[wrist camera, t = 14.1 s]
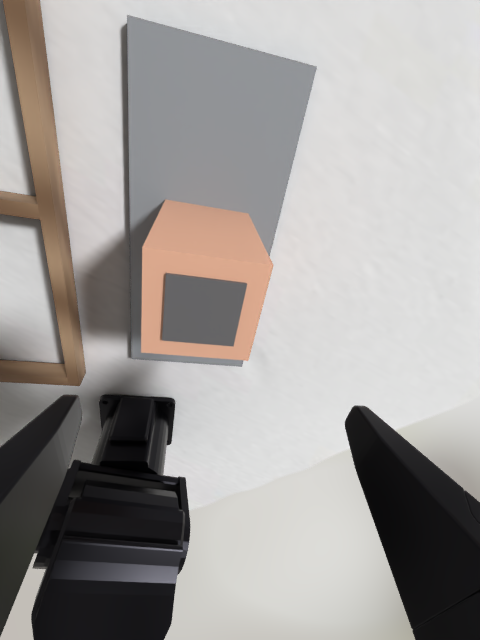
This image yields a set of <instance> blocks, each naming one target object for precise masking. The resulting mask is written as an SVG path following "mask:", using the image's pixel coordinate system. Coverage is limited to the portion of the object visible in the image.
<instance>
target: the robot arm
mask: <svg viewBox="0 0 480 640" xmlns="http://www.w3.org/2000/svg"><path fill="white" fill-rule="evenodd" d="M169 403H170V404H169ZM99 405H100V415H101V426H102V433H101V436H100V439H99V442H98V445H97V448H96V451H95V454H94V457H93V461H92V464H89V463H83V462H81V461H79V460H73V463H72V466H71V468H70V469H68V466H69V463H70V459H71V456H72V452H73V449H74V445H75V441H76V438H77V434H78V431H79V427H80V424H81V420H82V410H81V404H80V398H79V396H78V395H63V396H61V397H60V398H59V399H57V400H56V401H55V402H54V403H53V404H51V405H50V406H49V407H48V408H47V409H45V410H44V411H43V412H42V413H41V414H39V415H38V416H37V417H36V418H35V419H33V420H32V421H31V422H30V423H29V424H27V425H26V426H25V427H24V428H23V429H21V430H20V431H19V432H18V433H17V434H16V435H14V436H13V437H12V438H11V439H10V440H8V441H7V442H6V443H5V444H4V445H2V446H1V447H0V636H1V634H2V631H3V629H4V626H5V624H6V621H7V619H8V616H9V614H10V611H11V609H12V606H13V604H14V601H15V599H16V596H17V594H18V592H19V589H20V586H21V584H22V582H23V579H24V577H25V574H26V572H27V569H28V567H29V564H30V562H31V559H32V557H33V554H34V553H38V554H37V557H36V559H35V562H34V565H33V568H35V569H46V570H45V573H44V576H43V579H42V582H41V585H40V587H39V590H38V593H37V596H36V599H35V603H34V607H33V611H32V619H31V620H32V628H33V637H34V640H164V638H165V636H166V634H167V632H168V630H169V627H170V625H171V621H172V612H173V603H174V594H175V586H176V579H177V575H178V574H179V573H180V571H181V570H182V567H183V565H184V562H185V559H186V555H187V551H188V545H189V537H190V518H189V508H188V498H187V489H186V479H185V477H178V478H177V477H171V476H165V475H163V472H164V463H165V454H166V445H170V444H171V441H172V431H173V421H174V411H175V400H174V399H172V398H157V397H136V396H116V395H103V396H102V397H101V398H100V401H99ZM345 429H346V433H347V437H348V441H349V445H350V449H351V453H352V457H353V461H354V465H355V468H356V472H357V475H358V478H359V480H360V483H361V486H362V489H363V492H364V495H365V498H366V500H367V503H368V506H369V509H370V511H371V514H372V517H373V520H374V523H375V526H376V529H377V531H378V534H379V537H380V540H381V542H382V546H383V548H384V551H385V554H386V557H387V560H388V563H389V565H390V568H391V571H392V574H393V577H394V579H395V582H396V585H397V588H398V591H399V594H400V597H401V599H402V602H403V605H404V608H405V611H406V614H407V616H408V619H409V622H410V625H411V628H412V629H413V634H414V637H415V640H480V502H478V501H477V500H476V499H475V498H474V497H473V496H471V495H470V494H469V493H468V492H467V491H464V489H463V488H462V487H461V486H460V485H458V484H457V483H456V482H455V481H454V480H453V479H451V478H450V477H449V476H448V475H447V474H445V473H444V472H443V471H442V470H441V469H440V468H438V467H437V466H436V465H435V464H434V463H433V462H431V461H430V460H429V459H428V458H427V457H425V456H424V455H423V454H422V453H421V452H420V451H418V450H417V449H416V448H415V447H414V446H412V445H411V444H410V443H409V442H408V441H407V440H405V439H404V438H403V437H402V436H401V435H399V434H398V433H397V432H396V431H395V430H394V429H392V428H391V427H390V426H389V425H388V424H386V423H385V422H384V421H383V420H382V419H381V418H379V417H378V416H377V415H376V414H375V413H373V412H372V411H371V410H370V409H369V408H367V407H366V406H354V407H352V409H351V411H350V413H349V415H348V416H347V418H346V420H345Z"/></svg>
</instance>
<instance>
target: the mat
mask: <svg viewBox="0 0 480 640" xmlns="http://www.w3.org/2000/svg"><path fill="white" fill-rule="evenodd" d="M127 43H128V121H129V199H130V277H131V355H132V359H141V360H155V361H169V362H183V363H198V364H212V365H226V366H240V367H242V364H243V360H233V359H220V358H206V357H193V356H180V355H167V354H154V353H141V319H142V247H143V245H144V243H145V240H146V238H147V236H148V234H149V232H150V230H151V228H152V226H153V224H154V222H155V220H156V218H157V216H158V214H159V212H160V210H161V208H162V206H163V203H164V201H165V199H166V200H172V201H178V202H184V203H189V204H195V205H201V206H207V207H213V208H219V209H225V210H231V211H237V212H243V213H248V214H249V216H250V218H251V220H252V222H253V224H254V226H255V228H256V230H257V232H258V235H259V237H260V239H261V241H262V243H263V245H264V247H265V249H266V251H267V253H268V255H269V256H270V252H271V248H272V244H273V240H274V236H275V232H276V228H277V224H278V220H279V216H280V212H281V208H282V204H283V200H284V196H285V192H286V188H287V184H288V180H289V176H290V172H291V168H292V164H293V160H294V156H295V152H296V148H297V144H298V140H299V136H300V132H301V128H302V124H303V120H304V116H305V112H306V108H307V104H308V100H309V96H310V92H311V88H312V84H313V80H314V76H315V72H316V68H317V67H316V66H312V65H308V64H305V63H301V62H297V61H294V60H290V59H286V58H283V57H279V56H276V55H272V54H268V53H265V52H261V51H257V50H254V49H250V48H246V47H243V46H239V45H235V44H232V43H228V42H224V41H221V40H217V39H213V38H210V37H206V36H202V35H199V34H195V33H191V32H188V31H184V30H180V29H177V28H173V27H169V26H166V25H162V24H158V23H155V22H151V21H147V20H144V19H140V18H136V17H133V16H129V15H127Z"/></svg>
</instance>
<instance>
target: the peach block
mask: <svg viewBox="0 0 480 640" xmlns="http://www.w3.org/2000/svg"><path fill="white" fill-rule="evenodd" d="M272 269H273V263H272V261H271V259H270V257H269V255H268V253H267V251H266V249H265V247H264V245H263V243H262V241H261V239H260V237H259V235H258V232H257V230H256V228H255V226H254V224H253V222H252V220H251V218H250V216H249V214H248V213H243V212H237V211H231V210H225V209H219V208H213V207H207V206H201V205H195V204H189V203H184V202H178V201H172V200H166V199H165V201H164V203H163V206H162V208H161V210H160V212H159V214H158V216H157V218H156V220H155V222H154V224H153V226H152V228H151V230H150V232H149V234H148V236H147V238H146V240H145V243H144V245H143V247H142V319H141V353H154V354H167V355H180V356H193V357H206V358H220V359H233V360H246V361H248V360H249V356H250V352H251V348H252V345H253V341H254V337H255V333H256V329H257V326H258V322H259V318H260V314H261V310H262V307H263V303H264V299H265V295H266V291H267V288H268V284H269V280H270V276H271V272H272Z"/></svg>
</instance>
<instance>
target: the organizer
mask: <svg viewBox="0 0 480 640" xmlns="http://www.w3.org/2000/svg"><path fill="white" fill-rule="evenodd" d="M3 5H4V11H5V16H6V22H7V28H8V34H9V40H10V46H11V52H12V57H13V63H14V69H15V75H16V81H17V87H18V93H19V98H20V104H21V110H22V116H23V122H24V128H25V134H26V139H27V145H28V151H29V157H30V163H31V169H32V175H33V180H34V186H35V192H36V196H30V195H23V194H17V193H11V192H4V191H0V214H5V215H11V216H18V217H25V218H32V219H39V220H40V221H41V227H42V233H43V239H44V245H45V251H46V257H47V262H48V268H49V274H50V280H51V286H52V292H53V298H54V303H55V309H56V315H57V321H58V327H59V333H60V339H61V344H62V350H63V356H64V362H65V364H56V363H41V362H26V361H10V360H0V382H14V383H32V384H51V385H70V386H80V384H81V382H82V380H83V378H84V375H85V373H86V370H85V362H84V354H83V346H82V337H81V329H80V321H79V313H78V305H77V297H76V289H75V281H74V273H73V265H72V257H71V248H70V240H69V232H68V224H67V216H66V208H65V200H64V192H63V184H62V176H61V168H60V159H59V151H58V143H57V135H56V127H55V119H54V111H53V103H52V95H51V87H50V78H49V70H48V62H47V54H46V46H45V38H44V30H43V22H42V14H41V6H40V0H3Z"/></svg>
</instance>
